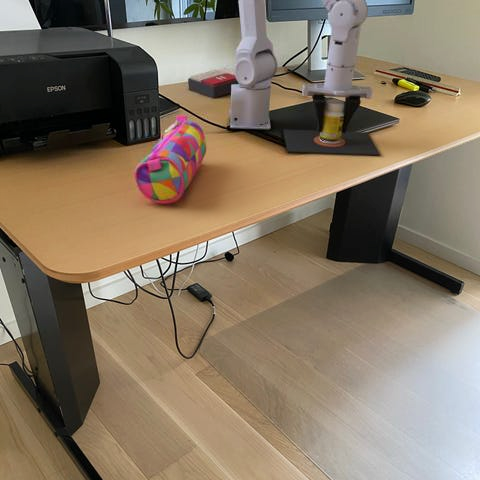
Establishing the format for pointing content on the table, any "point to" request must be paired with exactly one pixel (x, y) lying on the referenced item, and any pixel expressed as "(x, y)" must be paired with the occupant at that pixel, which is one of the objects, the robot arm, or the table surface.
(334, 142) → the supplement bottle
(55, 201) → the table surface
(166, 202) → the pencil case
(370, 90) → the robot arm
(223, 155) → the table surface
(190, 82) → the red and black box
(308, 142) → the desk mat
